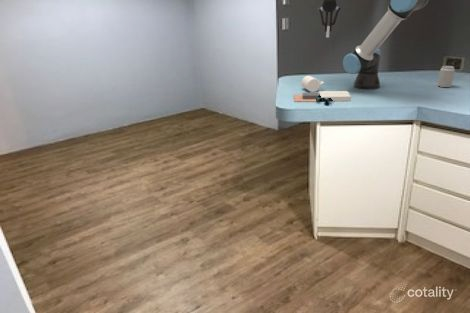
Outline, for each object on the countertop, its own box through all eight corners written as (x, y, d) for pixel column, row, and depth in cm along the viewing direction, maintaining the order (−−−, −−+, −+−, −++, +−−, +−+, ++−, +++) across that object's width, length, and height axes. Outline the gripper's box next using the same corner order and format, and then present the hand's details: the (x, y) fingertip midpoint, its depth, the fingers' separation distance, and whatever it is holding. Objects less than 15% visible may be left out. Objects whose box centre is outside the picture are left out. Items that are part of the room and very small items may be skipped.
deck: (347, 95, 212) (347, 91, 211) (350, 101, 201) (350, 96, 200) (318, 95, 214) (318, 91, 213) (320, 101, 203) (320, 96, 202)
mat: (318, 95, 215) (318, 94, 215) (320, 101, 203) (320, 101, 202) (293, 95, 217) (293, 94, 217) (294, 101, 204) (294, 101, 204)
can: (445, 88, 217) (449, 68, 212) (434, 86, 224) (438, 66, 219) (454, 87, 220) (458, 66, 215) (443, 84, 226) (447, 64, 221)
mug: (307, 92, 222) (307, 79, 218) (301, 88, 231) (301, 76, 227) (325, 90, 224) (326, 77, 220) (319, 87, 233) (319, 74, 229)
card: (318, 96, 211) (318, 92, 211) (319, 99, 206) (319, 95, 205) (302, 96, 212) (302, 92, 212) (302, 99, 207) (303, 95, 206)
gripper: (319, -5, 213) (317, 38, 222) (342, -6, 211) (339, 37, 221) (318, -5, 220) (316, 36, 229) (340, -6, 218) (337, 36, 228)
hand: (327, 37), depth 225 cm, fingers closed
